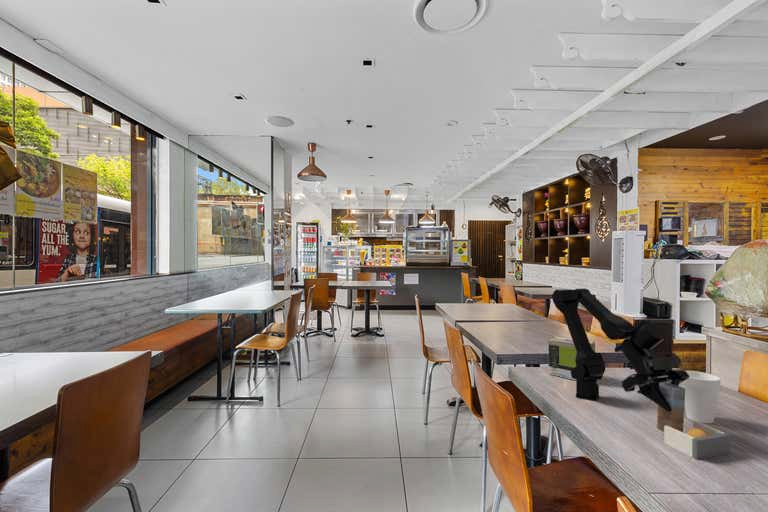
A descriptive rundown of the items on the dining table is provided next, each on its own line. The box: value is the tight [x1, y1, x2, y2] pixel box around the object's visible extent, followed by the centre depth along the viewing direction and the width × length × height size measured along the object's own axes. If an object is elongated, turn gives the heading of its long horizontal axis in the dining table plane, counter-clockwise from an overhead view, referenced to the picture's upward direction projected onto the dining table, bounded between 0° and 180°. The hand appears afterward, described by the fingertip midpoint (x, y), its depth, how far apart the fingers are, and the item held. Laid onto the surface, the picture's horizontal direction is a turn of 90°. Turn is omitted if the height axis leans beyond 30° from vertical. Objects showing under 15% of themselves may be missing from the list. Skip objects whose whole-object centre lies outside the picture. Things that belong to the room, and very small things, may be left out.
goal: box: [663, 420, 731, 460], centre depth 94 cm, size 8×11×4 cm
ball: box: [684, 427, 708, 438], centre depth 93 cm, size 5×5×5 cm
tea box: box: [547, 336, 596, 381], centre depth 151 cm, size 15×10×15 cm
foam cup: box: [680, 370, 722, 424], centre depth 111 cm, size 10×9×13 cm
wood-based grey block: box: [656, 383, 685, 433], centre depth 100 cm, size 4×4×12 cm
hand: (676, 410), depth 99 cm, fingers closed on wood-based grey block, 4 cm apart
